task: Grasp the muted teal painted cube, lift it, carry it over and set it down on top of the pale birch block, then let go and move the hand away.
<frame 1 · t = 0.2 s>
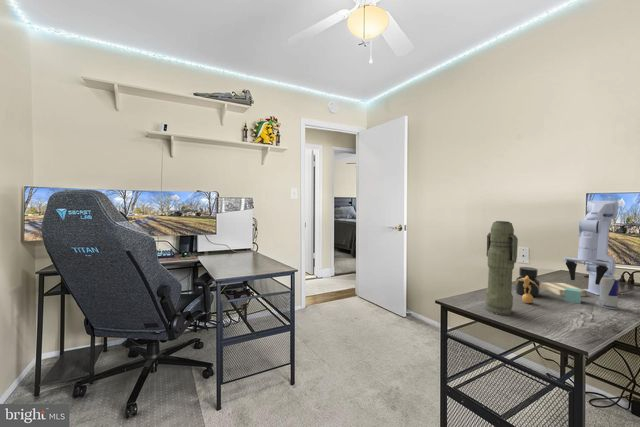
hand: (584, 282, 118), 10 cm above the table, tool pointing down, fingers open, 7 cm apart
birch block: (562, 292, 139), on the table
ink bottle: (527, 294, 135), on the table
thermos: (498, 311, 113), on the table
figurine: (526, 304, 122), on the table
teal cube: (572, 300, 126), on the table
energy drink: (607, 307, 119), on the table
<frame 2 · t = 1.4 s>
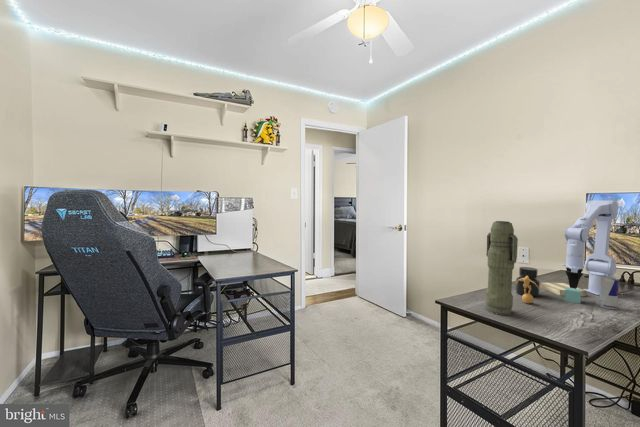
hand: (573, 286, 126), 6 cm above the table, tool pointing down, fingers open, 7 cm apart
nothing on the table moved.
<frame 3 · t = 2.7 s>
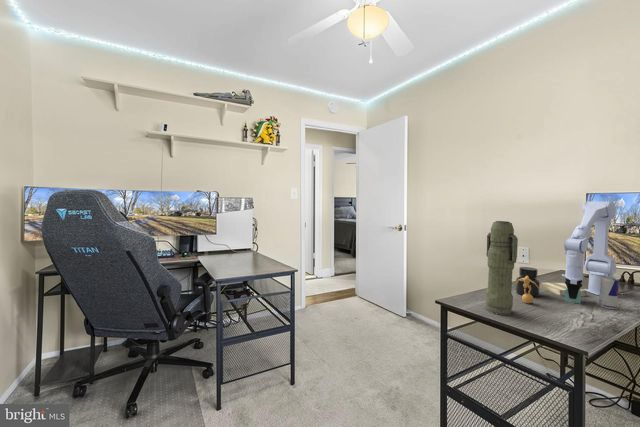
hand: (572, 297, 126), 2 cm above the table, tool pointing down, fingers closed on teal cube, 5 cm apart
teal cube: (572, 300, 126), on the table, touching gripper
everything else where it was.
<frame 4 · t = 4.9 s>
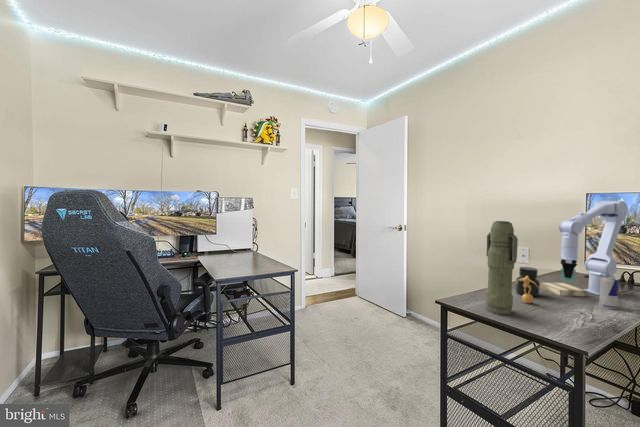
hand: (568, 276, 133), 9 cm above the table, tool pointing down, fingers closed on teal cube, 5 cm apart
teal cube: (567, 280, 133), point 7 cm above the table, touching gripper
everything else where it was.
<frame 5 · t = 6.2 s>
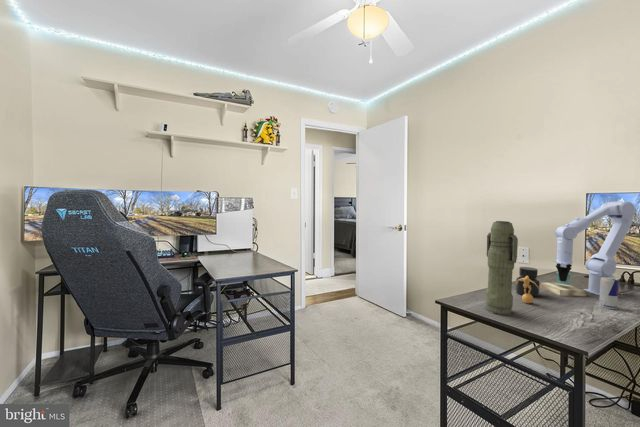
hand: (563, 279, 139), 6 cm above the table, tool pointing down, fingers closed on teal cube, 5 cm apart
teal cube: (562, 283, 139), point 4 cm above the table, touching gripper
everything else where it was.
when the fingers open (6 cm above the table, at t = 7.1 s): teal cube drops 2 cm, resting on birch block.
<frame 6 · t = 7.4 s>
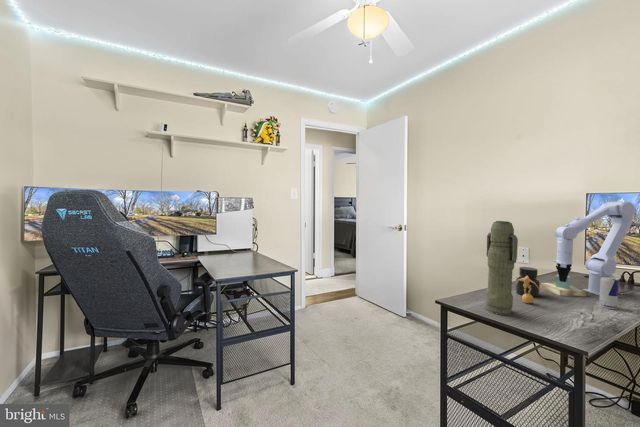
hand: (563, 280, 139), 6 cm above the table, tool pointing down, fingers open, 7 cm apart
birch block: (562, 292, 139), on the table, touching teal cube
teal cube: (562, 286, 139), point 2 cm above the table, touching birch block
everything else where it was.
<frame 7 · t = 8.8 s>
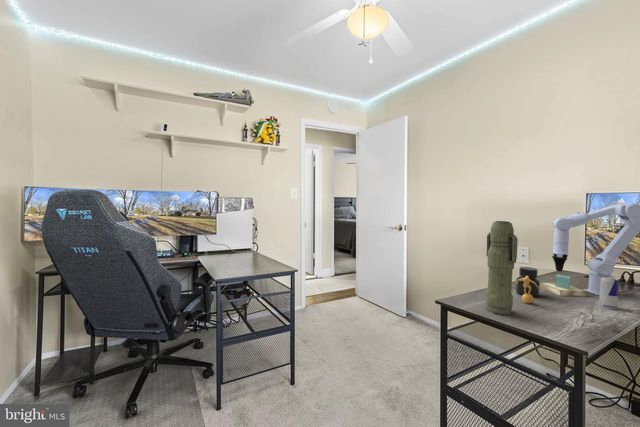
hand: (559, 269, 144), 9 cm above the table, tool pointing down, fingers open, 7 cm apart
nothing on the table moved.
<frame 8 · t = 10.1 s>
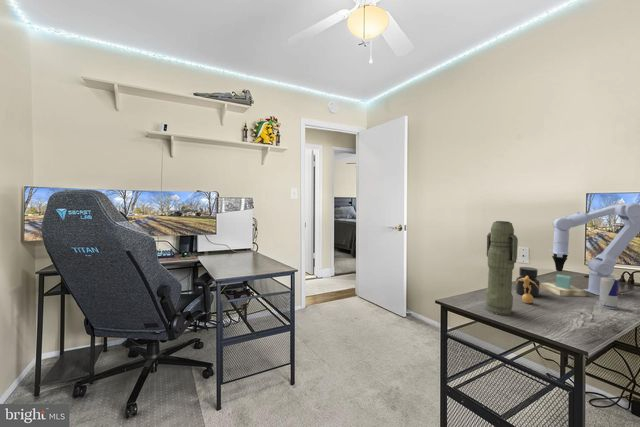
hand: (559, 269, 144), 9 cm above the table, tool pointing down, fingers open, 7 cm apart
nothing on the table moved.
at the end: teal cube 0.1 cm off-centre on the birch block, point 3.0 cm above the birch block's base; teal cube tilted 0°; the gripper is holding nothing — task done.
